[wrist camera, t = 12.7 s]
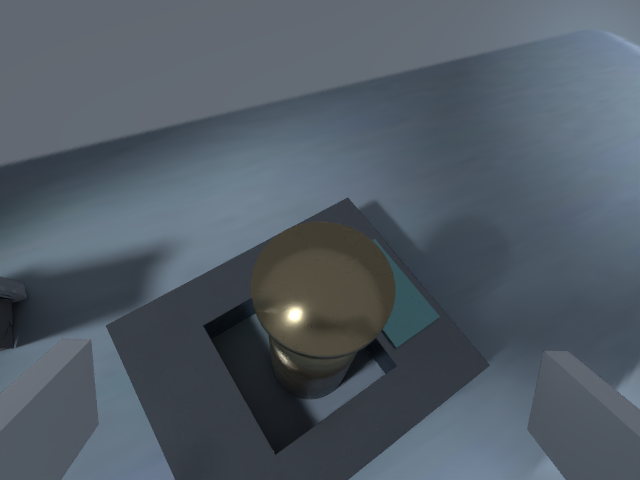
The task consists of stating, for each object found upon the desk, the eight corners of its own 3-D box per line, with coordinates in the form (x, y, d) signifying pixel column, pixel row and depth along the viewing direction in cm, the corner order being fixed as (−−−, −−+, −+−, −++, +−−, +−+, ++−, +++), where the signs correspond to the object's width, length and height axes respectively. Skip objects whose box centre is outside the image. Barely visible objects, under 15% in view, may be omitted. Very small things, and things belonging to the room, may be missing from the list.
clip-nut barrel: (255, 395, 23) (232, 337, 14) (277, 309, 26) (271, 210, 16) (346, 415, 23) (387, 369, 14) (359, 326, 26) (401, 236, 16)
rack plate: (228, 570, 19) (220, 582, 17) (121, 339, 24) (104, 324, 22) (472, 375, 25) (491, 364, 22) (343, 218, 30) (348, 195, 27)
